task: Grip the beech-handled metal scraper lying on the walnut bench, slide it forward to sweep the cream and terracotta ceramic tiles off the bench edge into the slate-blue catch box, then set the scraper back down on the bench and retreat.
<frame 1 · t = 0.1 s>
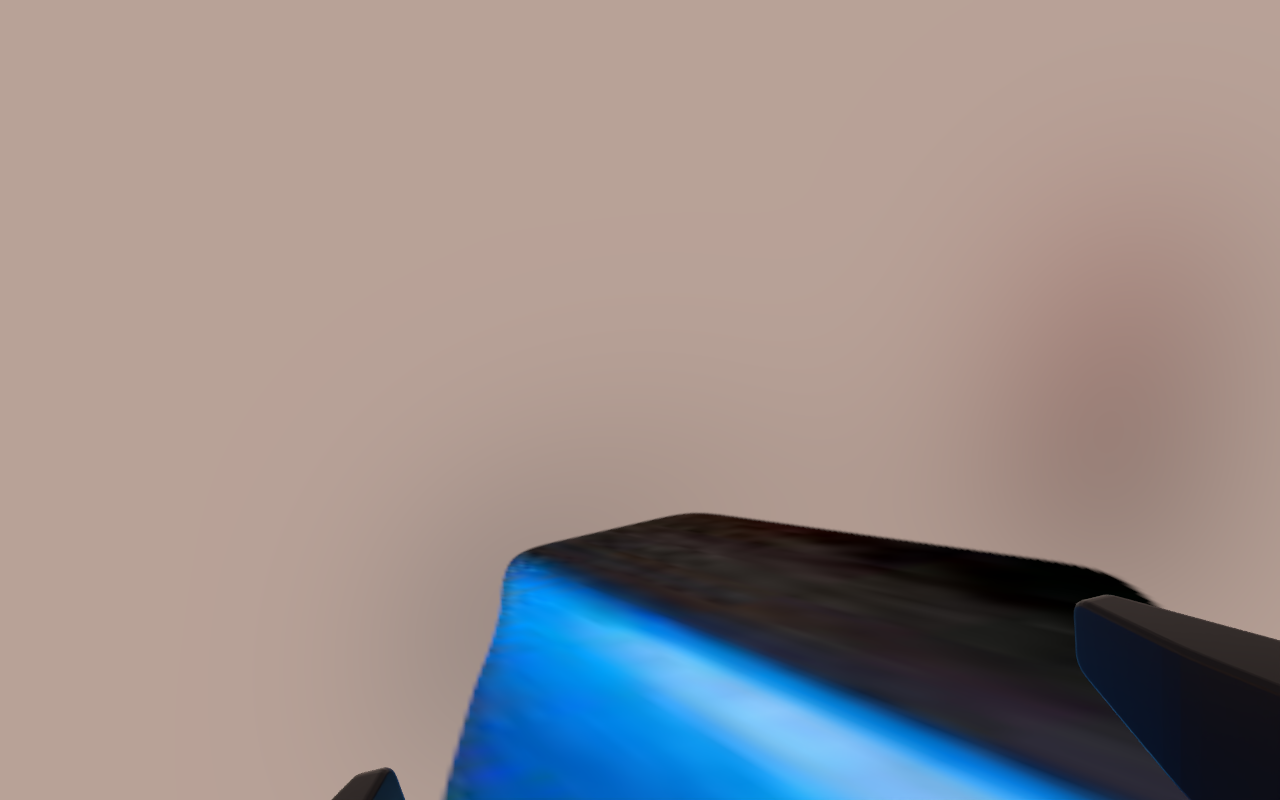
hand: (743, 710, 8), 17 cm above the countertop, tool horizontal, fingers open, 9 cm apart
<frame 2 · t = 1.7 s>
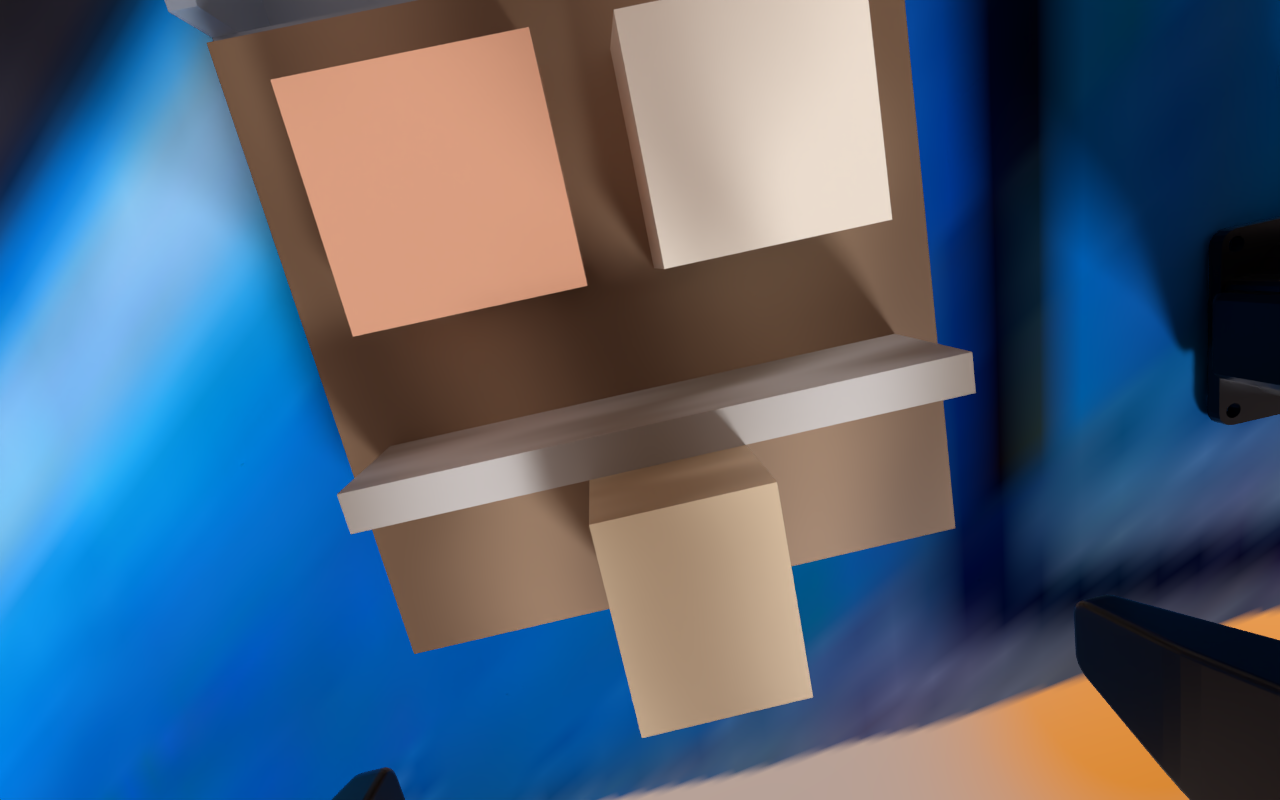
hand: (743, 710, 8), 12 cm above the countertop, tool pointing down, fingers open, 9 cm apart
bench: (620, 303, 19), on the countertop
tile terracotta: (460, 199, 13), point 5 cm above the countertop, touching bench
tile cream: (735, 141, 13), point 5 cm above the countertop, touching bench
scraper: (668, 499, 15), point 5 cm above the countertop, touching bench
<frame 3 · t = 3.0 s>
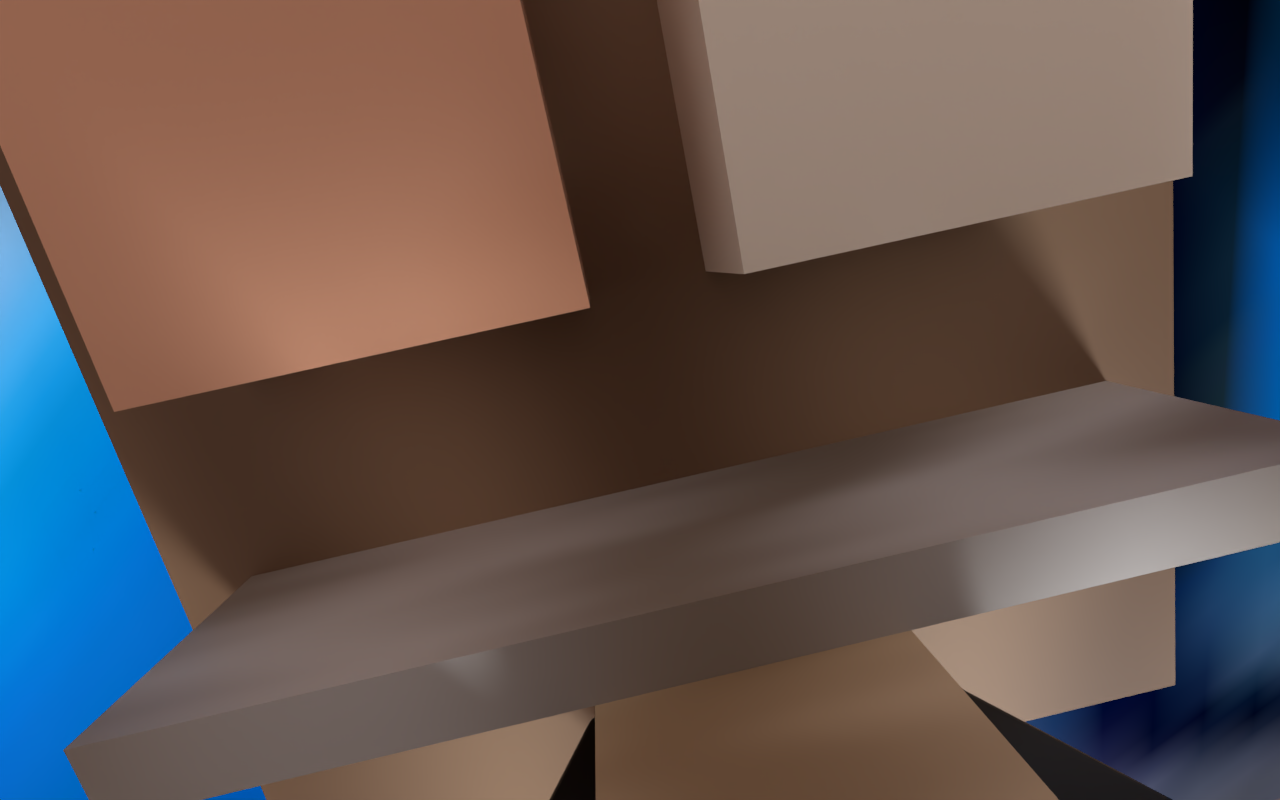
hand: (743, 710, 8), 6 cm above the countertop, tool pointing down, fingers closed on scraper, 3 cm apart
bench: (635, 320, 13), on the countertop
tile terracotta: (358, 146, 7), point 5 cm above the countertop, touching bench
tile cream: (854, 43, 7), point 5 cm above the countertop, touching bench
scraper: (723, 651, 9), point 5 cm above the countertop, touching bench, gripper
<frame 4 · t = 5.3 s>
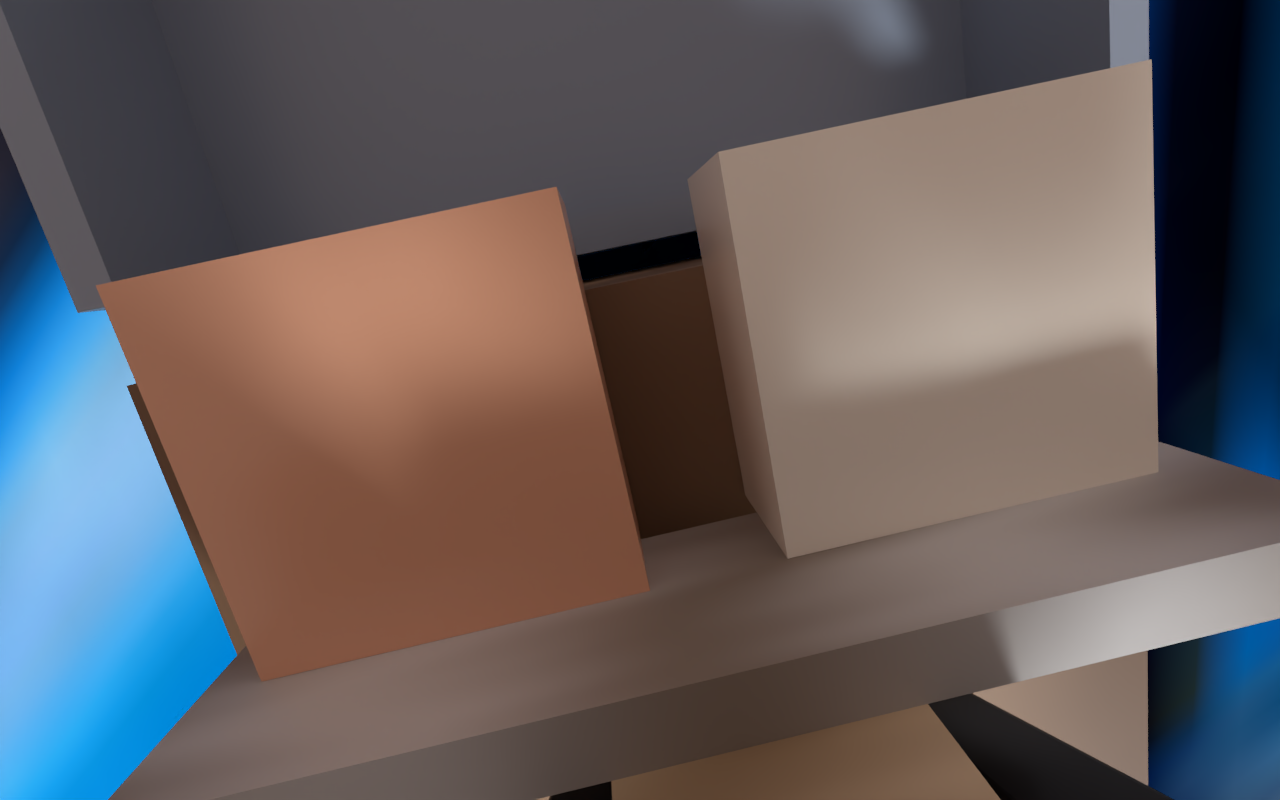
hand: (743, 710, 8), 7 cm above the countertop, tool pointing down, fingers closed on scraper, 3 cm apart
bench: (686, 562, 15), on the countertop
tile terracotta: (443, 407, 8), point 5 cm above the countertop
tile cream: (874, 312, 9), point 5 cm above the countertop, touching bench, scraper
scraper: (733, 697, 9), point 6 cm above the countertop, touching gripper, tile cream
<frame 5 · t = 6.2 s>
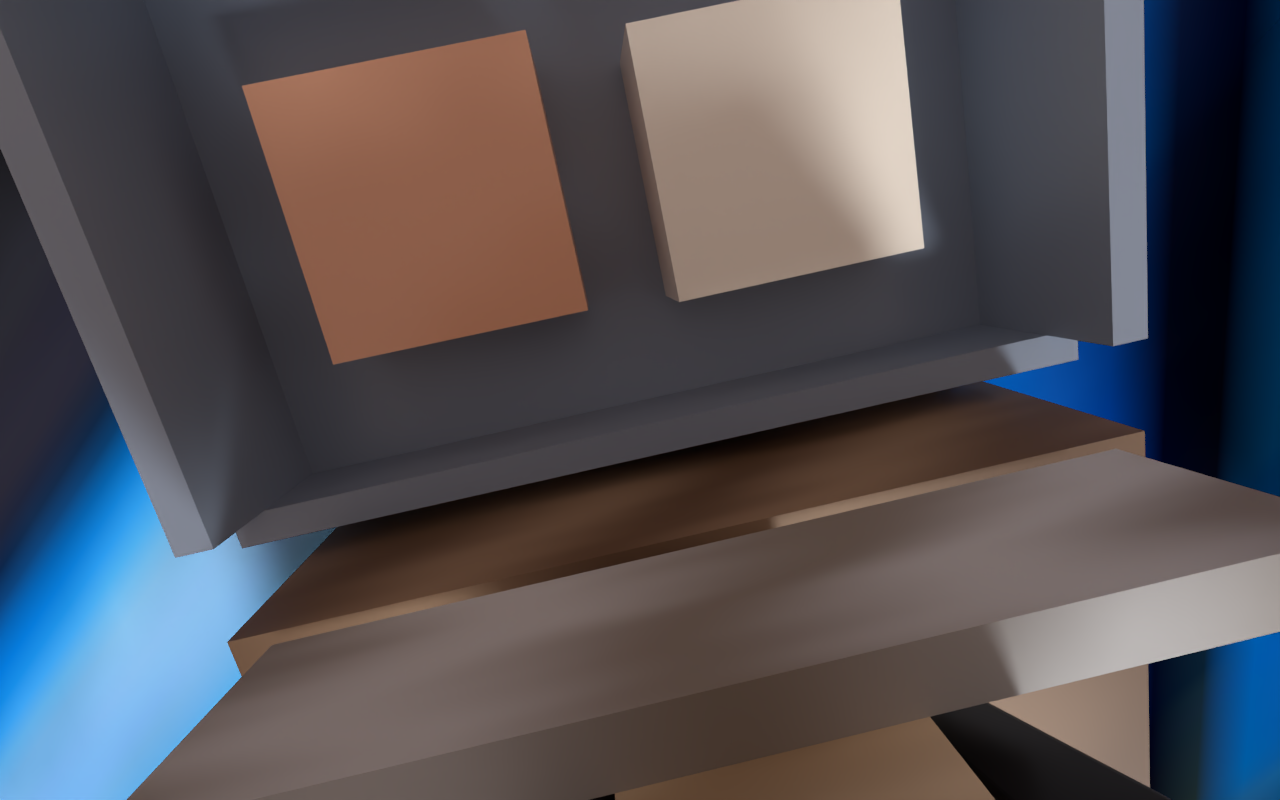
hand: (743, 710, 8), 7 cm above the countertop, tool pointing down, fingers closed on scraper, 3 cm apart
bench: (713, 696, 16), on the countertop
catch box: (604, 178, 13), on the countertop
tile terracotta: (425, 204, 10), point 2 cm above the countertop, tilted 180°, touching catch box
tile cream: (783, 142, 10), point 2 cm above the countertop, tilted 180°, touching catch box
scraper: (739, 720, 9), point 6 cm above the countertop, touching gripper
when the fingers open (7 cm above the countertop, at t = 7.6 s): scraper stays where it is, resting on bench.
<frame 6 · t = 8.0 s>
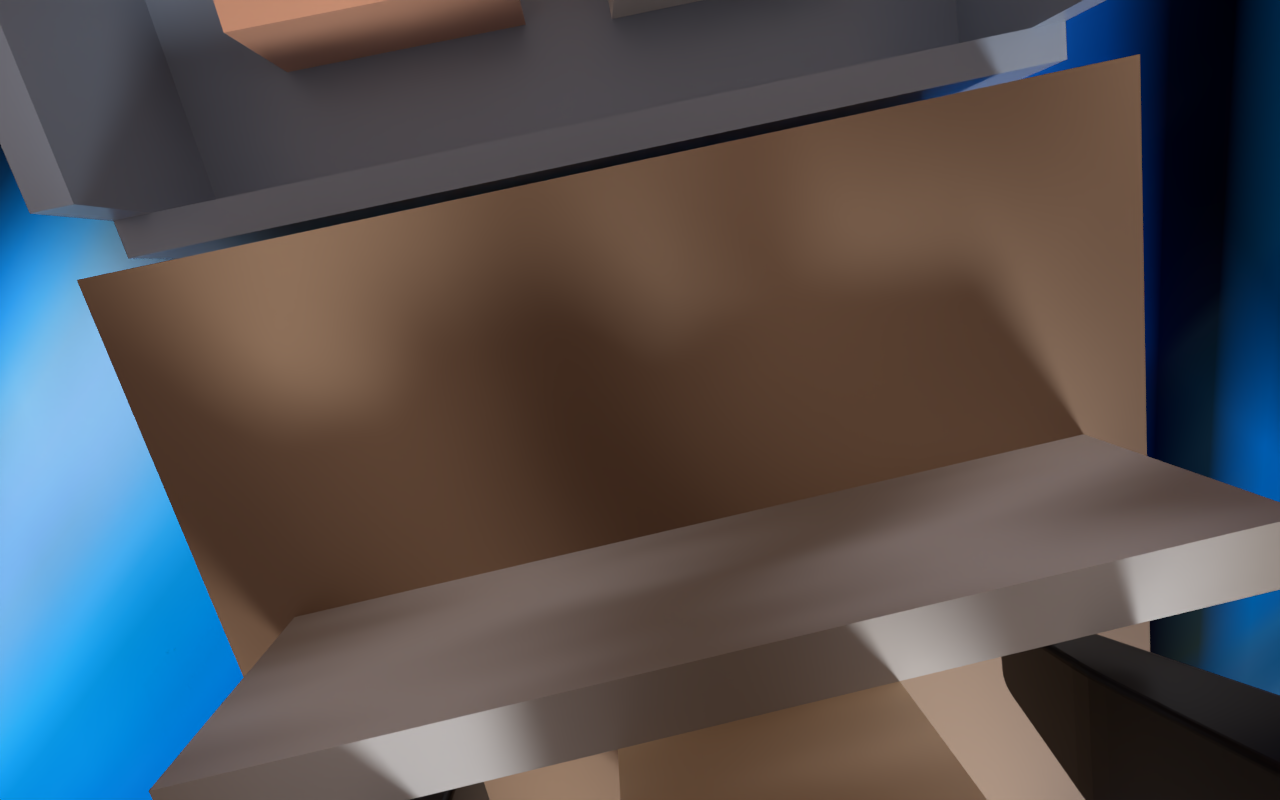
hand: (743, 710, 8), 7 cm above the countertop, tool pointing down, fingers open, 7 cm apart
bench: (675, 507, 14), on the countertop
scraper: (729, 683, 10), point 5 cm above the countertop, touching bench
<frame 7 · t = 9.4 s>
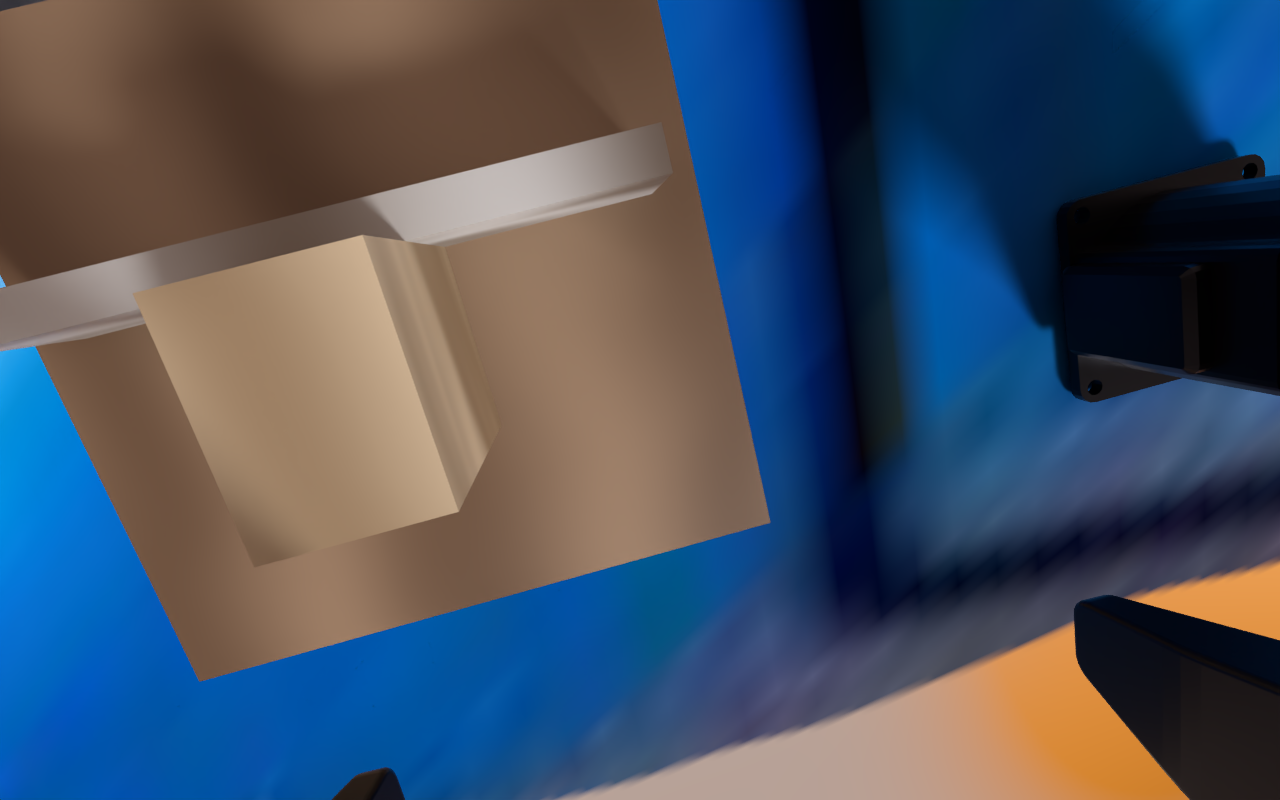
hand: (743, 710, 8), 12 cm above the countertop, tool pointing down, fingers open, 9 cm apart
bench: (442, 302, 18), on the countertop
scraper: (406, 356, 13), point 5 cm above the countertop, touching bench
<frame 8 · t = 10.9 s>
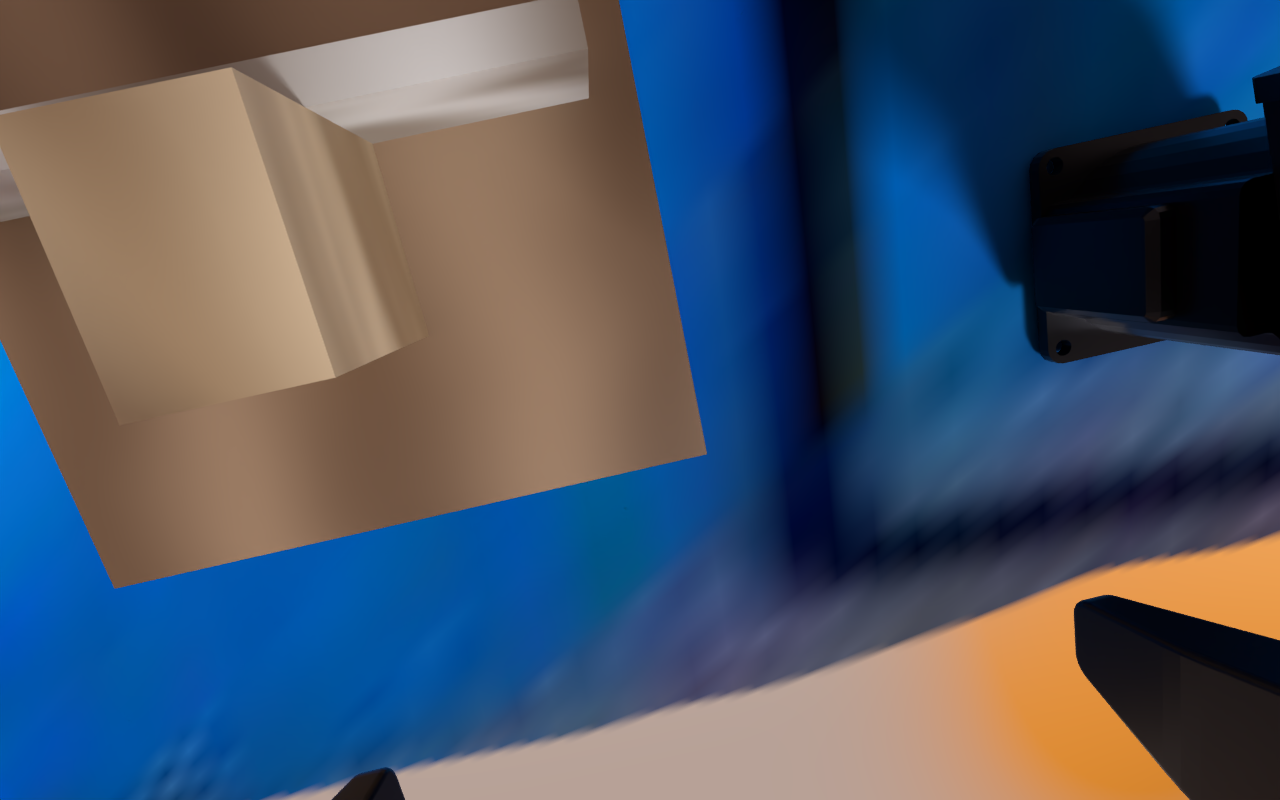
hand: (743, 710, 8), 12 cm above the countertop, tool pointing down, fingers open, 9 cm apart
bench: (392, 227, 17), on the countertop
scraper: (331, 258, 13), point 5 cm above the countertop, touching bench
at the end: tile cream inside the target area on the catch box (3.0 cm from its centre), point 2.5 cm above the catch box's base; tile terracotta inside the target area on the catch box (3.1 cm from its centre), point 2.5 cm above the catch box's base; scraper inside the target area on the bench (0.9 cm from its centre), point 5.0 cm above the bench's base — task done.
